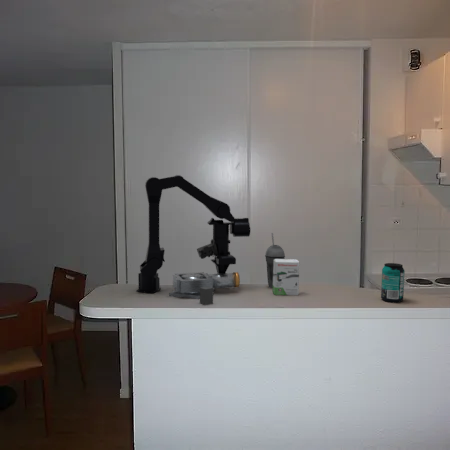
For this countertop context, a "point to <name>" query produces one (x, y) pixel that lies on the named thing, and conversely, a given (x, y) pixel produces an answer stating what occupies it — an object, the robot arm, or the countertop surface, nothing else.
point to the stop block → (206, 295)
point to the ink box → (286, 277)
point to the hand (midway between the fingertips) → (220, 279)
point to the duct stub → (189, 294)
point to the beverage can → (392, 282)
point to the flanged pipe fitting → (205, 281)
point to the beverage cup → (272, 254)
